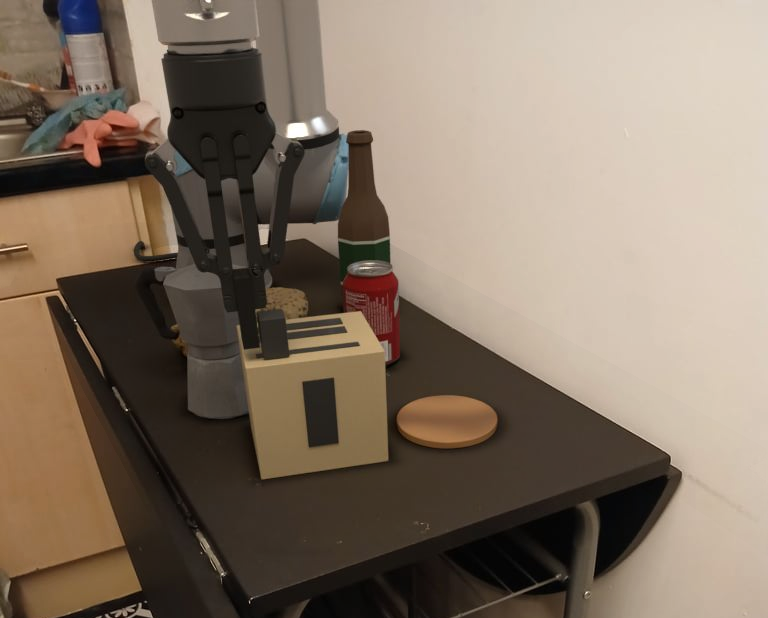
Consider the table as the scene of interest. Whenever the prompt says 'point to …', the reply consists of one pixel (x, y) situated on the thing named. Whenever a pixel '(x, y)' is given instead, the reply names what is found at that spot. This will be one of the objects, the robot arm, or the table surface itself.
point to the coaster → (447, 421)
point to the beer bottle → (361, 210)
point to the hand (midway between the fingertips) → (250, 342)
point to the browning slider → (273, 334)
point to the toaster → (318, 397)
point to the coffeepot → (201, 337)
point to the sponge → (277, 298)
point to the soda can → (375, 302)
